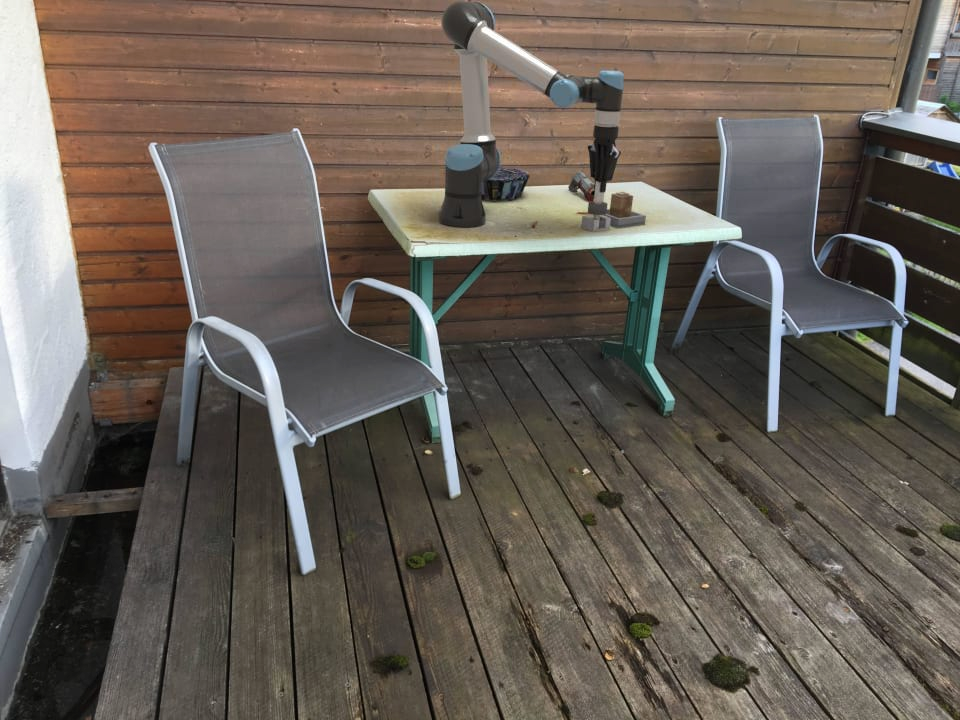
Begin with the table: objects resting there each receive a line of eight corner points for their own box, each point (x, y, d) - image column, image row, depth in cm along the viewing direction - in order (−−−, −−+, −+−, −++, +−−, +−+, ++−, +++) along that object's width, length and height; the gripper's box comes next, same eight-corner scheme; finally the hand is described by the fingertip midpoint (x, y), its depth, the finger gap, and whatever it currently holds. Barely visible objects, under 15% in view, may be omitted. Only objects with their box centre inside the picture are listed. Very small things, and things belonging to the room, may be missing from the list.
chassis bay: (617, 228, 250) (618, 219, 248) (593, 219, 259) (594, 210, 257) (644, 224, 256) (646, 215, 254) (620, 216, 265) (621, 207, 263)
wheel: (595, 225, 244) (597, 205, 241) (582, 220, 248) (584, 201, 245) (609, 223, 247) (611, 203, 244) (596, 218, 251) (599, 199, 248)
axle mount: (593, 232, 244) (594, 220, 243) (580, 227, 249) (582, 215, 247) (609, 229, 248) (611, 218, 246) (597, 225, 252) (598, 213, 251)
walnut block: (618, 221, 254) (622, 195, 250) (608, 217, 257) (611, 192, 254) (630, 219, 256) (633, 194, 252) (620, 216, 260) (623, 190, 256)
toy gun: (584, 211, 284) (589, 185, 278) (565, 189, 299) (569, 164, 293) (595, 210, 285) (600, 185, 279) (575, 189, 300) (580, 164, 294)
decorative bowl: (521, 211, 273) (525, 183, 268) (445, 198, 276) (448, 171, 272) (530, 195, 296) (534, 169, 291) (461, 184, 299) (463, 158, 295)
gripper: (630, 127, 232) (621, 205, 242) (601, 121, 241) (594, 196, 251) (611, 128, 228) (603, 207, 238) (583, 122, 238) (576, 198, 248)
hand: (598, 201), depth 245 cm, fingers closed
